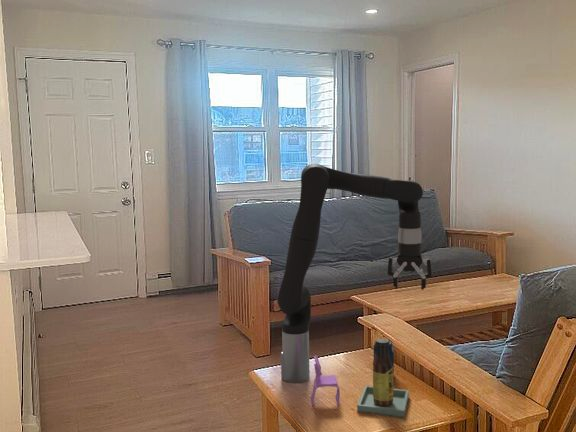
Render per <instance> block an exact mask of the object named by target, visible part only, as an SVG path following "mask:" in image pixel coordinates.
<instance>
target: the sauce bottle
mask: <svg viewBox="0 0 576 432" xmlns="http://www.w3.org/2000/svg"><path fill="white" fill-rule="evenodd" d="M389 340H390V339H386V338H378V339H376V340H375V341H376V346H377V352H376V353H377V355H376V357H375V358H374V357H373V360H372V365H373V366H372V367H373V368H372V386H373V397H374V403H375V404H377V405H379V406H389V405H391V404H392V403H393V389H394V373H393V364H392V361H391V358H390V356H389Z"/></svg>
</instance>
